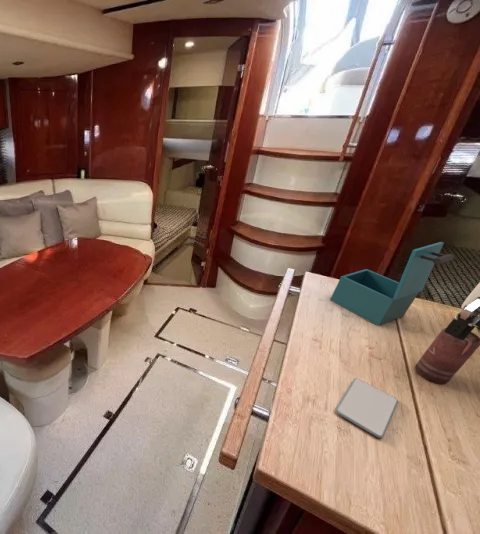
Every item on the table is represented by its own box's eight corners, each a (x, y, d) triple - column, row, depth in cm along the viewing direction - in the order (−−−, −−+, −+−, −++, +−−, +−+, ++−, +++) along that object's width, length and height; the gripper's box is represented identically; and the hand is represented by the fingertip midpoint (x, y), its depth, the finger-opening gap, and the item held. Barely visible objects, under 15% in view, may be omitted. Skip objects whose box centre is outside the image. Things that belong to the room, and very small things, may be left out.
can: (425, 383, 76) (458, 341, 69) (408, 363, 81) (437, 323, 74) (455, 387, 74) (492, 345, 67) (435, 367, 80) (468, 326, 73)
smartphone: (399, 399, 71) (382, 438, 63) (397, 401, 71) (380, 441, 63) (355, 376, 77) (334, 409, 69) (353, 379, 77) (333, 412, 69)
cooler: (329, 300, 106) (341, 276, 101) (354, 292, 109) (366, 268, 104) (377, 326, 94) (393, 300, 89) (403, 316, 97) (419, 291, 92)
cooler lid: (412, 249, 83) (437, 255, 78) (440, 241, 86) (465, 247, 82) (392, 298, 89) (414, 306, 85) (418, 289, 92) (440, 296, 88)
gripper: (525, 284, 56) (467, 351, 64) (568, 267, 61) (509, 331, 69) (468, 265, 62) (422, 329, 70) (512, 251, 67) (464, 312, 76)
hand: (465, 330), depth 70 cm, fingers open, 9 cm apart
